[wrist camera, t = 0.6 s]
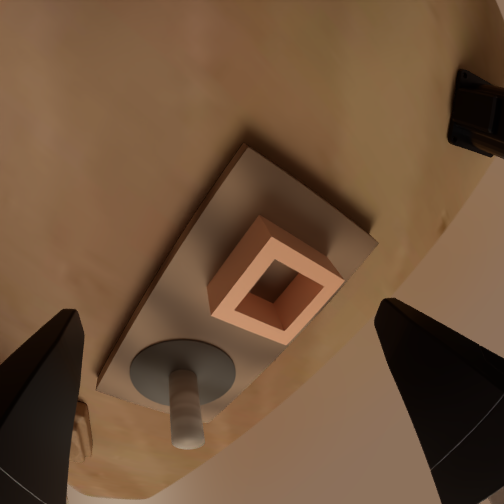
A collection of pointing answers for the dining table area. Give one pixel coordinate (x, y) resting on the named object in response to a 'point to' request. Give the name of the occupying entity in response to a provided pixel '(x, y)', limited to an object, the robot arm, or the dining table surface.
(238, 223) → the post board
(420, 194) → the dining table surface
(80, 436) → the candle holder
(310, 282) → the collar
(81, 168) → the dining table surface
